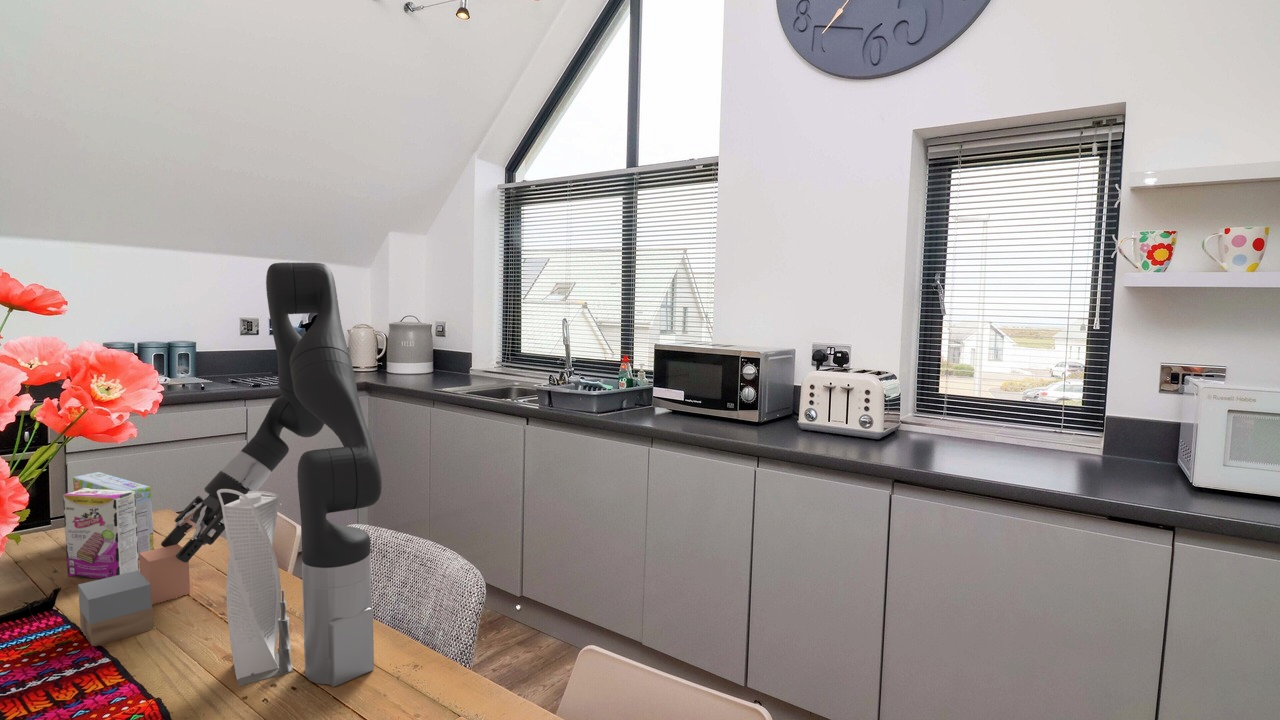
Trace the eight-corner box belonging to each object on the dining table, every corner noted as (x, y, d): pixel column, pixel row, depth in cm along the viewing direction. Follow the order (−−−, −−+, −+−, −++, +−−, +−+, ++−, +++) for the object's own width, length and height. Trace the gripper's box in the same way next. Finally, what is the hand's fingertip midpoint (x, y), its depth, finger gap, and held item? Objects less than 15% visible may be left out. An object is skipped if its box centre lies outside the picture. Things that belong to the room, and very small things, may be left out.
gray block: (151, 608, 112) (150, 584, 111) (89, 624, 106) (88, 599, 105) (139, 593, 117) (138, 570, 117) (79, 608, 111) (78, 584, 111)
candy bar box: (65, 577, 131) (60, 494, 130) (88, 567, 136) (84, 487, 134) (119, 581, 130) (114, 497, 128) (140, 571, 135) (136, 489, 133)
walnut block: (153, 630, 112) (152, 607, 112) (92, 648, 106) (91, 624, 106) (139, 615, 117) (138, 592, 117) (80, 631, 111) (79, 608, 111)
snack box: (74, 544, 148) (70, 476, 147) (104, 536, 153) (101, 470, 152) (126, 564, 138) (123, 491, 137) (157, 555, 143) (153, 484, 142)
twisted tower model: (226, 691, 96) (219, 496, 93) (221, 666, 102) (214, 483, 100) (293, 673, 101) (288, 487, 98) (284, 649, 107) (279, 475, 105)
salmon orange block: (190, 594, 125) (188, 552, 124) (151, 605, 121) (149, 561, 120) (179, 585, 129) (177, 544, 128) (140, 595, 124) (138, 552, 124)
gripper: (209, 463, 135) (142, 534, 127) (237, 476, 126) (167, 554, 118) (239, 484, 140) (177, 553, 132) (268, 498, 131) (203, 574, 123)
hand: (172, 553), depth 125 cm, fingers open, 8 cm apart
